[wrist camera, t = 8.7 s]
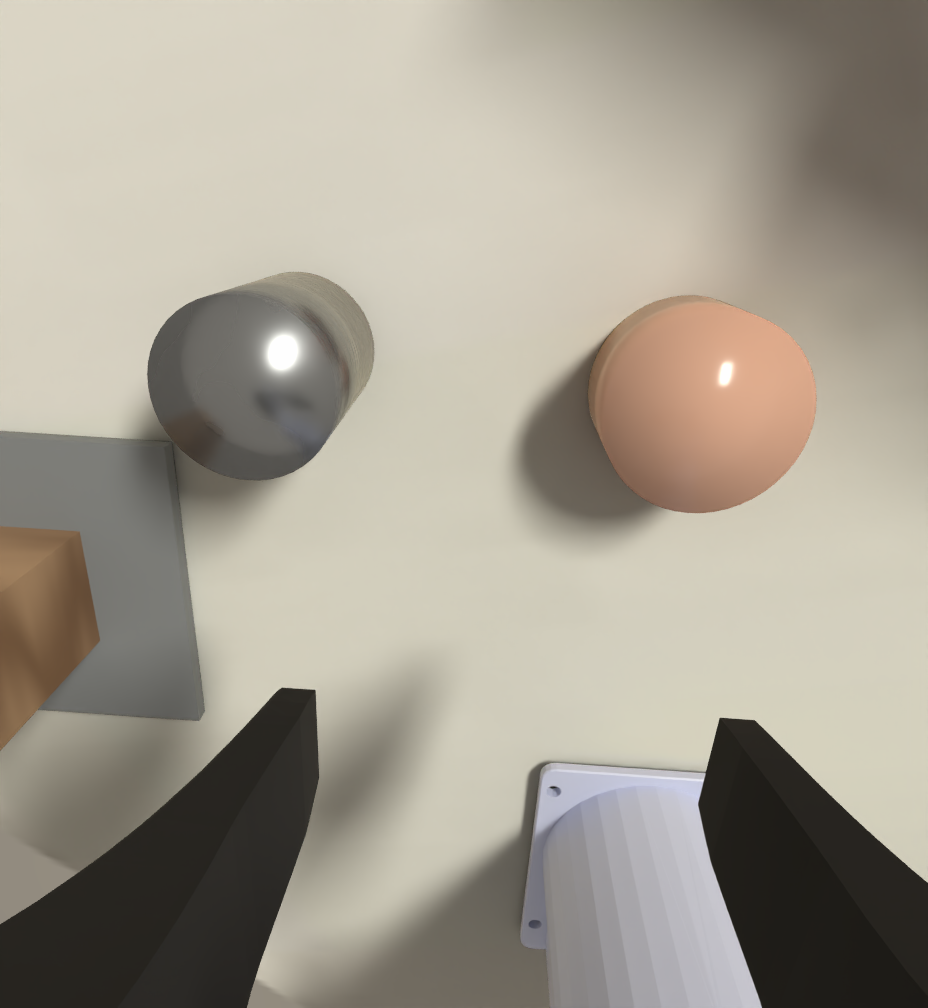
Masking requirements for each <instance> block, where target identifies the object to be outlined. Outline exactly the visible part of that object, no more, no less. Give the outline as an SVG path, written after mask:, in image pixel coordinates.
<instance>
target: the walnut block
mask: <svg viewBox="0 0 928 1008" xmlns="http://www.w3.org/2000/svg"><path fill="white" fill-rule="evenodd" d="M99 641H100V636H99V631H98V626H97V621H96V615H95V610H94V605H93V599H92V594H91V589H90V584H89V578H88V573H87V568H86V562H85V557H84V552H83V547H82V541H81V536H80V531H66V530H51V529H36V528H21V527H5V526H0V750H1V749H2V748H3V747H4V746H5V745H6V744H7V743H8V742H9V740H10V739H11V738H12V737H13V736H14V735H15V734H16V733H17V732H18V731H19V729H20V728H21V727H22V726H23V725H24V724H25V723H26V722H27V721H28V720H29V718H30V717H31V716H32V715H33V714H34V713H35V712H36V711H37V710H38V709H39V707H40V706H41V705H42V704H43V703H44V702H45V701H46V700H47V699H48V698H49V696H50V695H51V694H52V693H53V692H54V691H55V690H56V689H57V688H58V687H59V685H60V684H61V683H62V682H63V681H64V680H65V679H66V678H67V677H68V676H69V674H70V673H71V672H72V671H73V670H74V669H75V668H76V667H77V666H78V665H79V663H80V662H81V661H82V660H83V659H84V658H85V657H86V656H87V655H88V654H89V652H90V651H91V650H92V649H93V648H94V647H95V646H96V645H97V644H98V643H99Z"/></svg>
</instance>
